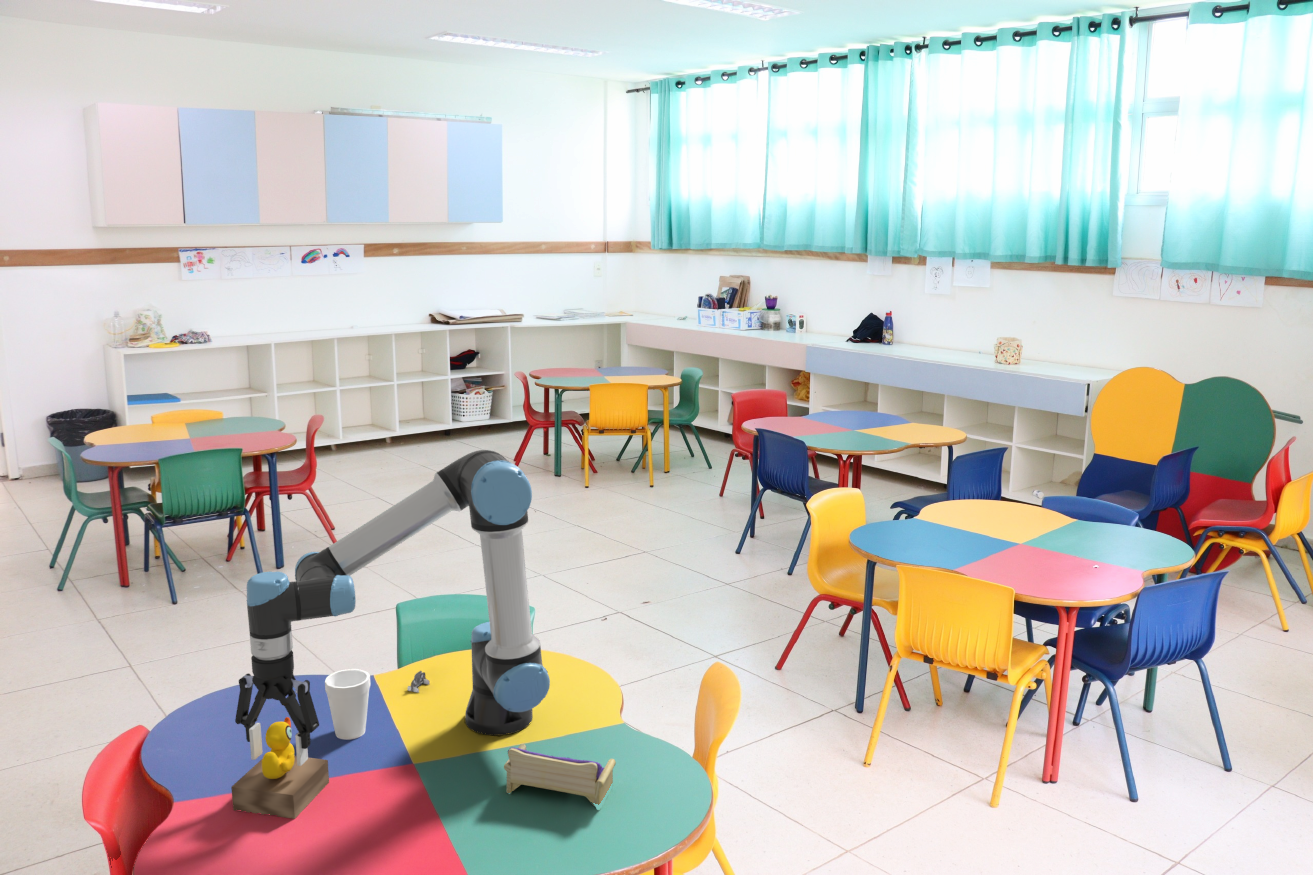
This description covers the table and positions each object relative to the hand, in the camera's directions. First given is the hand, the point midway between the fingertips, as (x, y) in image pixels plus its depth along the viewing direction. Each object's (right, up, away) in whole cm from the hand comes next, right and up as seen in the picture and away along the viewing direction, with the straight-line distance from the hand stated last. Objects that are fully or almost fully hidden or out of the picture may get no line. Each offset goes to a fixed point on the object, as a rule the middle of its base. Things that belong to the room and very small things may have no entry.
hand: (279, 759), depth 200 cm
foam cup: (+6, -3, +27) cm, 27 cm away
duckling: (0, -3, +1) cm, 3 cm away
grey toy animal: (+17, +2, +52) cm, 55 cm away
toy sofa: (+55, -8, +5) cm, 55 cm away
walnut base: (0, -8, +2) cm, 8 cm away
